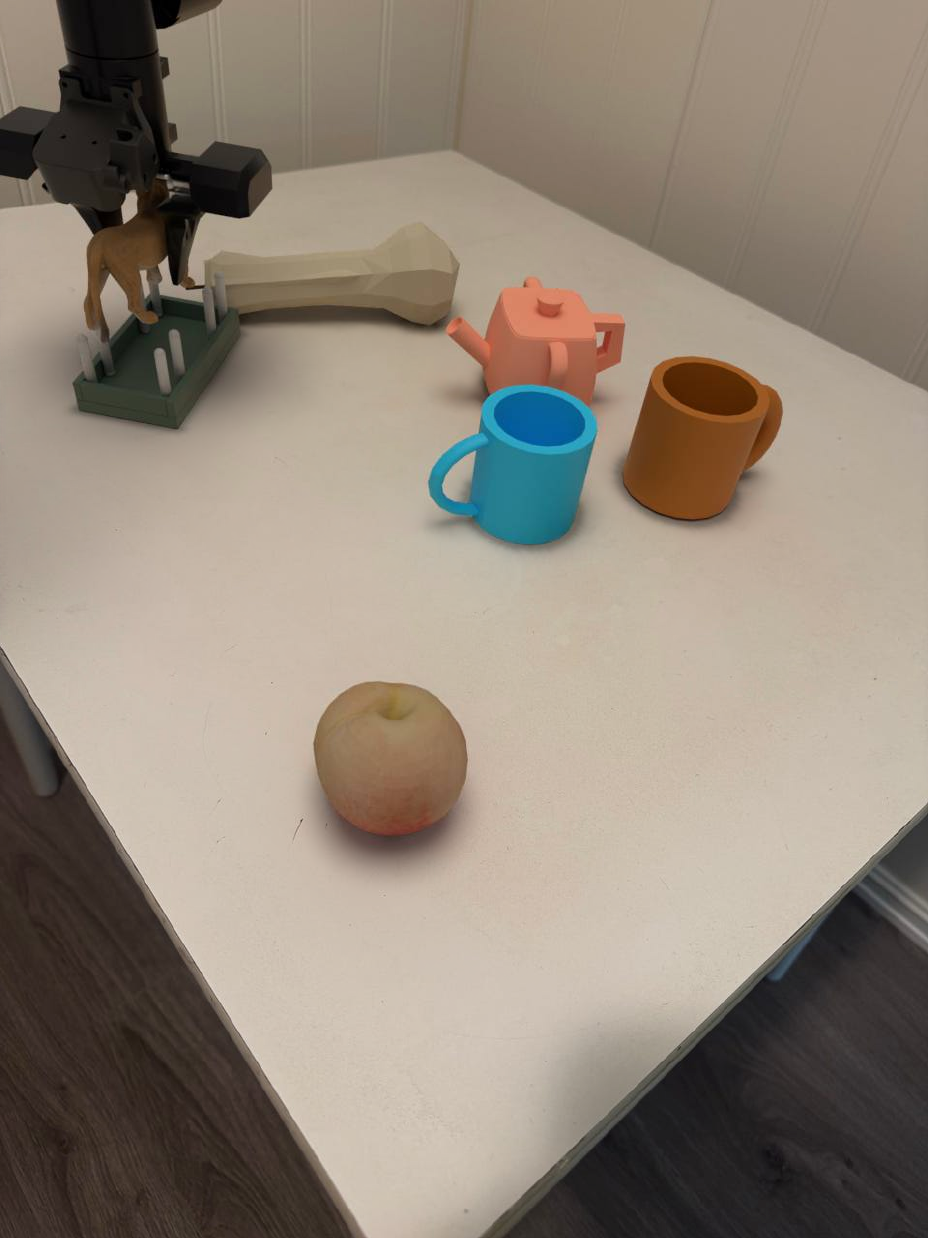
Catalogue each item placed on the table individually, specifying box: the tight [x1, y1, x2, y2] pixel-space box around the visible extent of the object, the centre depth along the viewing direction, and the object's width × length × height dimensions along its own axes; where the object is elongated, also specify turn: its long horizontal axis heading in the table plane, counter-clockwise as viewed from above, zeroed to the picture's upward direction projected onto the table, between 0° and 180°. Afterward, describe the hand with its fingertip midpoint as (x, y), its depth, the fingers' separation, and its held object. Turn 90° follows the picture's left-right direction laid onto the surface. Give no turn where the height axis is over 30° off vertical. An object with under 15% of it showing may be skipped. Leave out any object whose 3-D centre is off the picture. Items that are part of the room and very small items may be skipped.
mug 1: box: [427, 385, 598, 546], centre depth 63 cm, size 12×8×8 cm
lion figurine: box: [83, 180, 196, 343], centre depth 65 cm, size 15×5×9 cm, turn 171°
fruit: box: [312, 680, 469, 836], centre depth 46 cm, size 8×8×8 cm
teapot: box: [445, 275, 626, 408], centre depth 73 cm, size 12×12×10 cm
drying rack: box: [72, 270, 241, 429], centre depth 72 cm, size 8×15×6 cm, turn 171°
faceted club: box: [184, 220, 461, 327], centre depth 80 cm, size 9×8×25 cm
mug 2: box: [621, 355, 784, 520], centre depth 68 cm, size 9×12×9 cm
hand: (149, 277), depth 68 cm, fingers closed on lion figurine, 4 cm apart
